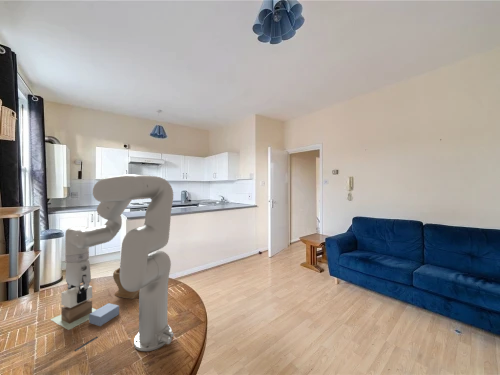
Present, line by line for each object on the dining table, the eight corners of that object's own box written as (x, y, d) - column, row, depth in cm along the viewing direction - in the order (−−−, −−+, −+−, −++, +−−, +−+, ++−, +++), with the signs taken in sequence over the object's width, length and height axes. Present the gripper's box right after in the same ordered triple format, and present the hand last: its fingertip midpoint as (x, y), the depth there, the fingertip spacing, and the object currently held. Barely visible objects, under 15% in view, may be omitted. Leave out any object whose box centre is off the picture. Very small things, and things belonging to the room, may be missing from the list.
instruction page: (98, 337, 75) (98, 337, 75) (75, 351, 69) (75, 351, 69) (84, 330, 79) (84, 329, 79) (61, 342, 73) (61, 342, 73)
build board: (102, 315, 88) (102, 312, 88) (68, 333, 77) (68, 330, 77) (84, 306, 94) (84, 304, 94) (50, 322, 83) (50, 319, 83)
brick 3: (119, 317, 87) (119, 305, 87) (100, 329, 80) (100, 317, 80) (108, 314, 89) (108, 303, 89) (89, 326, 81) (89, 313, 81)
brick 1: (92, 297, 88) (92, 286, 88) (70, 308, 81) (70, 295, 81) (83, 294, 90) (83, 283, 90) (61, 304, 83) (61, 292, 83)
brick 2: (92, 312, 88) (92, 300, 88) (69, 323, 81) (69, 311, 81) (84, 308, 91) (84, 297, 91) (61, 319, 83) (61, 307, 83)
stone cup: (107, 299, 100) (107, 269, 100) (128, 288, 111) (128, 260, 111) (131, 305, 96) (131, 273, 95) (150, 292, 107) (150, 264, 107)
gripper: (99, 257, 85) (99, 300, 85) (76, 251, 92) (76, 290, 93) (78, 263, 78) (78, 310, 79) (55, 256, 86) (55, 299, 86)
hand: (77, 299), depth 86 cm, fingers closed on brick 1, 6 cm apart
